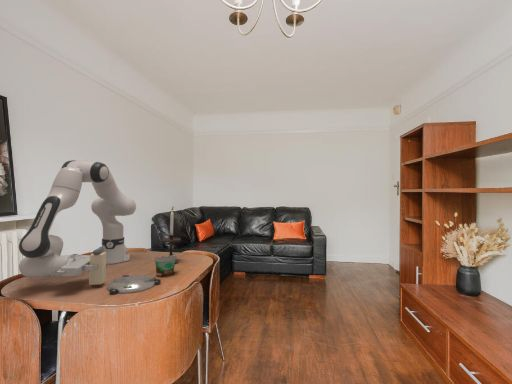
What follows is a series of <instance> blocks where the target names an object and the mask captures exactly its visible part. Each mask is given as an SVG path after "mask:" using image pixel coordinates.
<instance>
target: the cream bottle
mask: <svg viewBox="0 0 512 384" xmlns="http://www.w3.org/2000/svg"><path fill="white" fill-rule="evenodd" d="M103 251H104V248H103V247H101V246H99V247H98V248H96V249H94V250H93V251H92V253H91V254H89V255H90V265H94V264H98V268H97V269H92V270H88V271H89V273H88V274H89V277H88V285H89V286H93V285H103V284H104V283H105V282H106V281H107V280H106V279H107V277H106V276H107V264H106V252H103Z"/></svg>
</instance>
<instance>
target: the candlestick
mask: <svg viewBox="0 0 512 384" xmlns="http://www.w3.org/2000/svg"><path fill="white" fill-rule="evenodd" d="M174 214H175V213H174V206H172V207H171V213H170V215H169V216H170V221H169V226H170V227H169V237H164V238H162V239H161V242H162V243H168V244H169V249H168V252H169V253H168V256H170V255H173V252H174V249H173V244H174V243H178V242H181V238H180V237H174V236H175V234H174V221H175V220H174V218H175V217H174V216H175V215H174ZM176 263H177V264H179V259H175V265H176Z"/></svg>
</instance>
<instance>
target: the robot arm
mask: <svg viewBox="0 0 512 384" xmlns="http://www.w3.org/2000/svg"><path fill="white" fill-rule="evenodd" d="M83 183H91V184H92V187H93V189H94V191H95V193H96V195H97V196H98V198H95V199H94V200H93V201H92V202H91V206H90V207H91V211H92V213H93V214H95V215H96V216H97V217H98V219H99V220H100V223H101V225H102V238H101V246H100V247H103V248H104V251H103V252H106V265H110V264H118V263H120V264H121V263H123V262H129V261H130V259H131V254H130V253H128V252H127V251H128V250H127V246H126V245H125V237H124V229H125V228H124V224H123V223H122V222H120V221H118V219H117V218H116V217H120V216H121V217H126V216H130V215H134V213H135V211H136V210H137V204H136V202H135V200H133V199H132V198H130V197H129V196H126V195H125V194H124V193H123V192H122V191H121V190H120V189H119V188H118V185H117V183H116V180H115V178H114V177H113V174H112V173H111V171H110V169H109V167H108V166H107V165H106V164H105V163H103V162H100V161H93V160H92V161H91V160H75V159H73V160H72V159H71V160H67V161H65V162H64V163H63V165H62V166H61V168H60V169H59V171H58V172H57V174H56V176H55V177H54V180H53V182H52V185H51V188H50V190H49V193H48V195H47V197H46V198H45V199H44V200H43V202H42V203H41V205H40V206H39V209H38V211H37V213H36V215H35V217H34V219H33V222H32V224H31V226H30V227H29V229H28V231H27V232H26V233H25V235H23V236H22V237H21V239H20V241H19V243H18V249H19V253H20V254H21V255H22V256H23V258H22V259H21V260H20V261H19V263H18V269H19V272H20V274H21V275H23V276H24V277H28V278H46V277H55V278H56V277H77V276H80V275H81V274H83V273H84V272H86V271H90V270H92V269H97V268H98V264H94V265H90V255H91V254H89V255H88V254H81V255H79V254H78V253H74V254H69V255H68V254H67V255H66V254H65V255H61V254H62V251H63V247H64V241H63V239H62V237H59V236H58V235H54V234H50V230H51V229H52V228H51V227H52V225H53V224H54V221H55V219H56V217H57V215H58V214H59V213H60V212H61V211H64V210H67V209H70V208H72V207H73V206H75V205H76V203H77V202H78V200H79V197H80V193H81V190H82V185H83Z"/></svg>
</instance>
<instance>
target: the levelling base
mask: <svg viewBox="0 0 512 384" xmlns="http://www.w3.org/2000/svg"><path fill="white" fill-rule="evenodd" d="M161 283H162V282H161V279H157V278H156V277H155V276H153V275H149V274H148V275H147V274H133V275H132V274H131V275H130V274H129V275H128V274H124V275H122V276H121V277H118V278H115V279H112V280H110V281H109V282H108V283H107V291H108V292H109V293H108V294H109V295H110V296H113V295H118V294H134V293H139V292H143V291H147V290H149V289H152V288H154V286H158V285H161Z"/></svg>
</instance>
